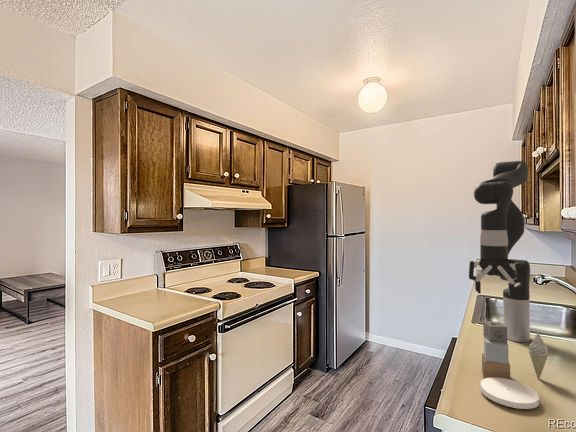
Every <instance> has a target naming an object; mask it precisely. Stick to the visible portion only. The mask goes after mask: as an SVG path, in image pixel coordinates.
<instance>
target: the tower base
mask: <svg viewBox="0 0 576 432" xmlns="http://www.w3.org/2000/svg"><path fill="white" fill-rule="evenodd" d="M481 372H482V378H483V379H485V378H490V377H491V378H492V377H497V378H505V379H510V380H511V363H509V365H506V364H500V363H494V362H488V361H486V359H485V356H484V352H482V353H481Z"/></svg>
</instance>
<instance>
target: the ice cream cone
mask: <svg viewBox="0 0 576 432" xmlns="http://www.w3.org/2000/svg"><path fill="white" fill-rule="evenodd" d="M532 340H533V341H532V342H531V343H530V344H528V347H529V348H528V354H529V357H530V360H531V362H532V366H533V368H534V372H535V375H536V378H537V379H538V380H540V379H541V376H542V373H543V370H544V367H545V365H546V362H547V359H548V357H549V350H548V348H547V347H548V346H547V345H545V344H544V339H543V338H542V337H541V335H540V333H539V331H537V332H536V335H535V337H534V338H532Z"/></svg>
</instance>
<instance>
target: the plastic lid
mask: <svg viewBox="0 0 576 432" xmlns="http://www.w3.org/2000/svg"><path fill="white" fill-rule="evenodd" d="M479 386H480V387H479V389H480V392H481V393H482V394H483V395H484V396H485V397H486V398H487V399H489V400H491V401H493V402H495V403H496V404H500V405H502V406H505V407H509V408H513V409H514V408H515V409H519V410H520V409H521V410H525V409H526V410H532V409H535V408H537V407H539V405H540V395H539V393H538V392H537V391H536V390H534V389H533V387H530V386H528V385H526V384H524V383H522V382H520V381H518V380H517V381H516V380H512V379H511V378H510V379H505V378H497V377H492V378H491V377H490V378H485V379H484V378H483V379H481V380H480V383H479Z"/></svg>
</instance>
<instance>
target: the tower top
mask: <svg viewBox="0 0 576 432" xmlns="http://www.w3.org/2000/svg"><path fill="white" fill-rule="evenodd" d="M483 353H484V356H485V359H486V361H488V362H494V363H500V364H506V365H509V364H510V362H509V361H510V360H509V344H508V342H507V343H500V342H489V341H488V340H487V339H486V338H485V337H484V336H483Z"/></svg>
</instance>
